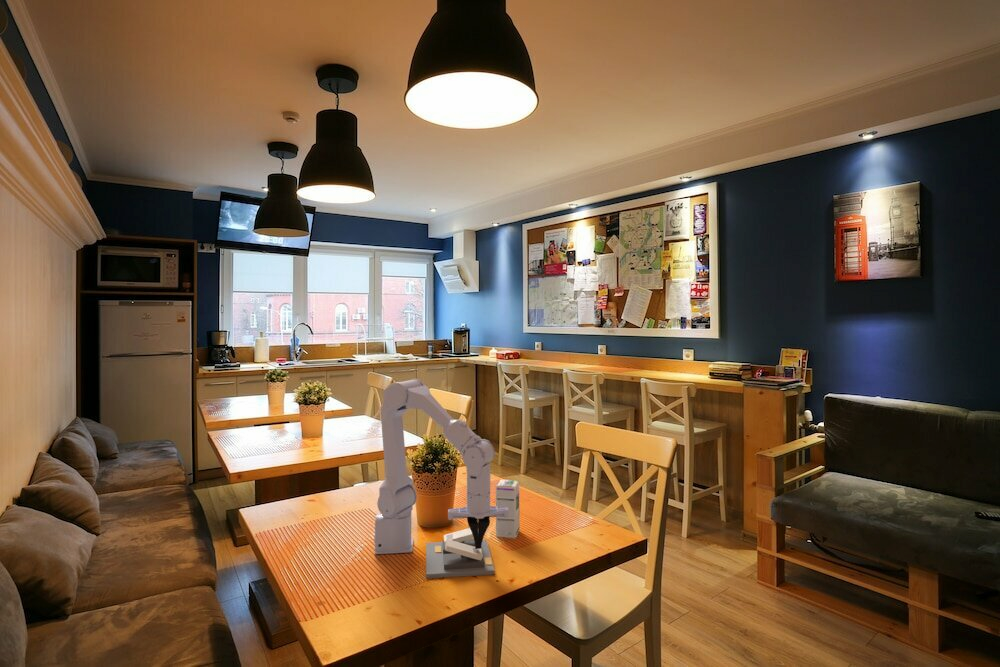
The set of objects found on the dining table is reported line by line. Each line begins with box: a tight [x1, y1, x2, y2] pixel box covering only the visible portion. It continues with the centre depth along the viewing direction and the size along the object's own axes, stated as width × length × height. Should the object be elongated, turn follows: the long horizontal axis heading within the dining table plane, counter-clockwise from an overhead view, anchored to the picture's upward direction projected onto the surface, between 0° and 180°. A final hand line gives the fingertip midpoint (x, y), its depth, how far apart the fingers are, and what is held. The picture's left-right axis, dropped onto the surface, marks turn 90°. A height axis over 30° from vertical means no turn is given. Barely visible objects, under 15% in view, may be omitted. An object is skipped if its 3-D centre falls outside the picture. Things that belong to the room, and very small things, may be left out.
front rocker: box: [445, 539, 483, 561], centre depth 127 cm, size 9×4×1 cm, turn 99°
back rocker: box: [443, 527, 474, 543], centre depth 135 cm, size 9×4×1 cm, turn 97°
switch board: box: [425, 538, 496, 580], centre depth 131 cm, size 16×17×3 cm
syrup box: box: [495, 479, 521, 539], centre depth 147 cm, size 6×6×14 cm
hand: (477, 546), depth 128 cm, fingers closed
